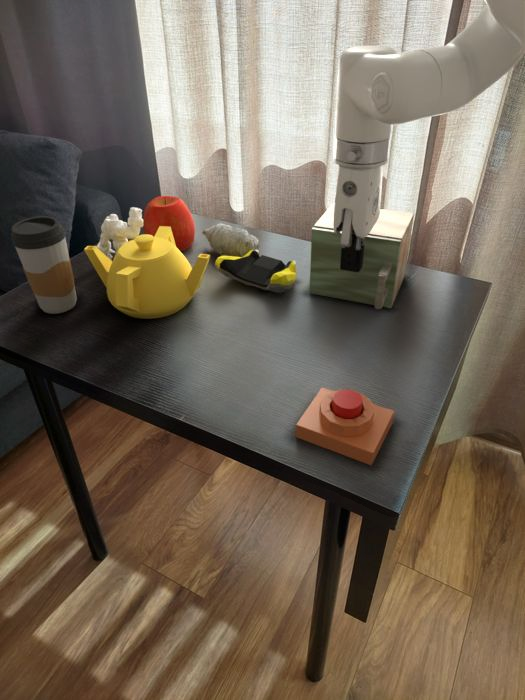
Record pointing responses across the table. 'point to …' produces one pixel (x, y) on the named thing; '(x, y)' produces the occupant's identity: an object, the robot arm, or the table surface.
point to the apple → (170, 220)
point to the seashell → (231, 240)
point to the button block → (345, 427)
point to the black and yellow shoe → (259, 271)
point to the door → (354, 286)
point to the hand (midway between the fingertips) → (351, 268)
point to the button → (347, 404)
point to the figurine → (119, 231)
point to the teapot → (149, 275)
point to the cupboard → (384, 234)
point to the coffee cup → (46, 262)
